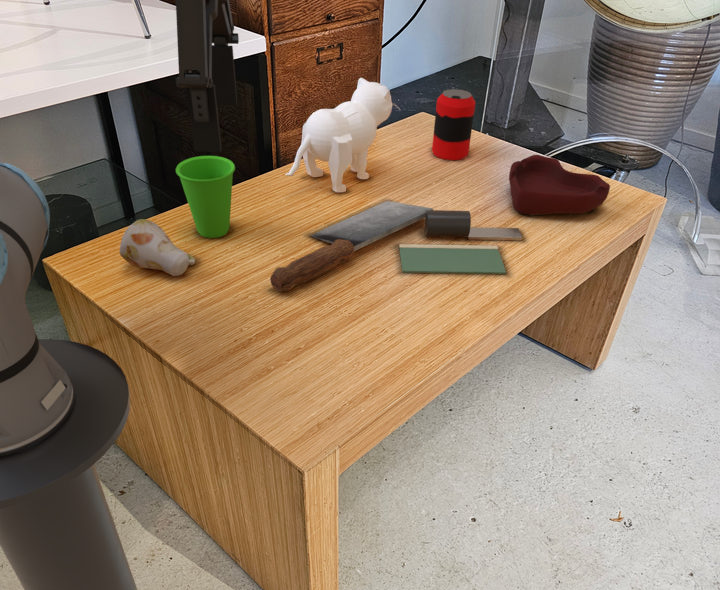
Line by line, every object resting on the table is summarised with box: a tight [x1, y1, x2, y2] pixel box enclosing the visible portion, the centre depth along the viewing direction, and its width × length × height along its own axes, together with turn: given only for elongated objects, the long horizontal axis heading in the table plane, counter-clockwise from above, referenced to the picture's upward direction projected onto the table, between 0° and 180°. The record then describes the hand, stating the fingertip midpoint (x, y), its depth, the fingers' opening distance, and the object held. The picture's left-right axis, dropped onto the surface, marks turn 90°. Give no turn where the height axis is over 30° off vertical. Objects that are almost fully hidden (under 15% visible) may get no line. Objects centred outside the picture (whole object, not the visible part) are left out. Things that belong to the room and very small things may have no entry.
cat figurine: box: [284, 77, 400, 193], centre depth 120 cm, size 25×10×17 cm, turn 131°
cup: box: [175, 155, 236, 239], centre depth 105 cm, size 9×9×11 cm
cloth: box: [398, 243, 507, 275], centre depth 104 cm, size 16×8×1 cm, turn 91°
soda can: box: [431, 88, 476, 161], centre depth 133 cm, size 8×8×12 cm
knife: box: [424, 209, 523, 241], centre depth 109 cm, size 16×4×4 cm, turn 91°
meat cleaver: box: [270, 200, 434, 292], centre depth 106 cm, size 34×11×4 cm, turn 136°
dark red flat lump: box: [508, 154, 611, 217], centre depth 119 cm, size 18×16×5 cm
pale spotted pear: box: [119, 218, 196, 277], centre depth 98 cm, size 8×10×10 cm
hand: (217, 126), depth 73 cm, fingers open, 13 cm apart
